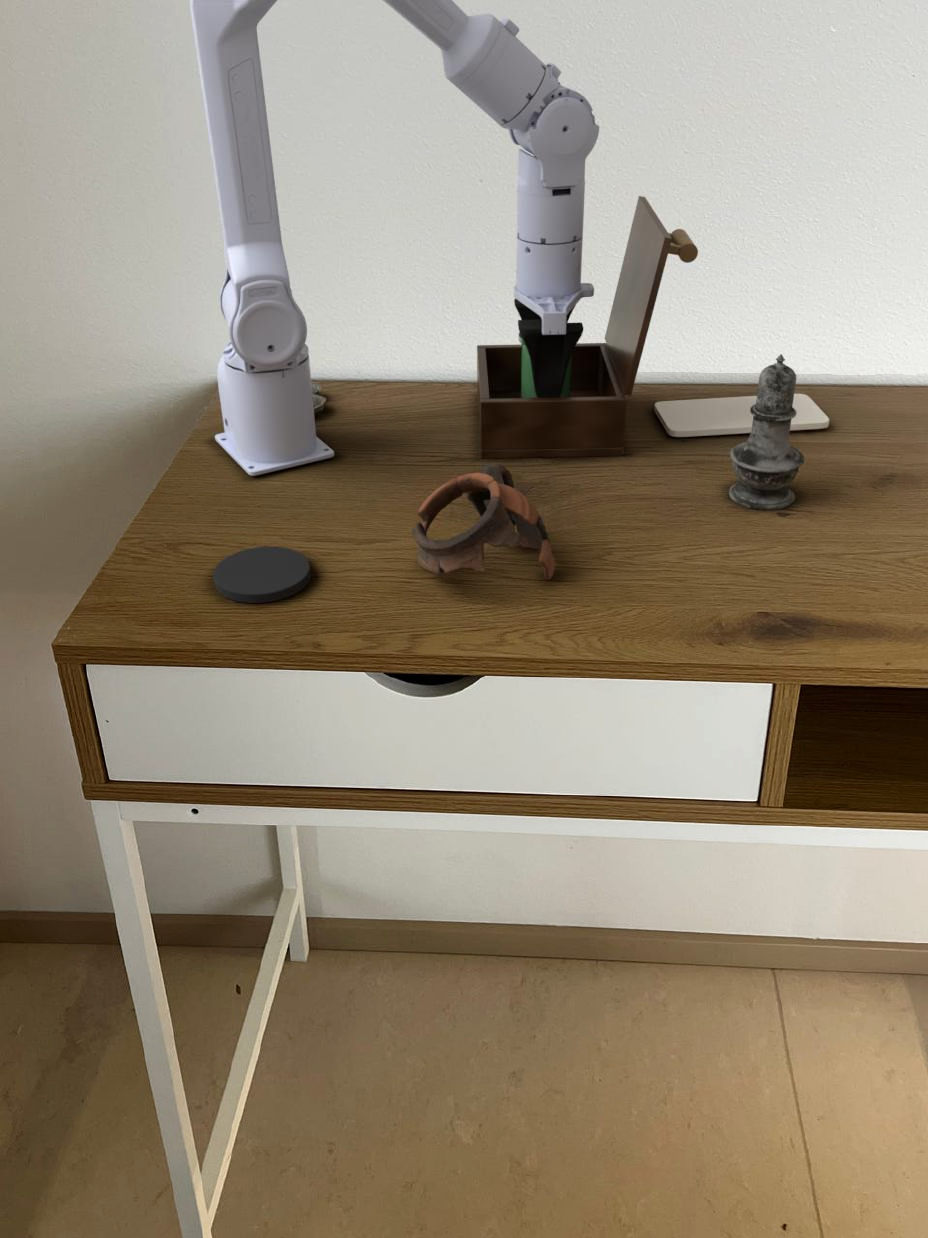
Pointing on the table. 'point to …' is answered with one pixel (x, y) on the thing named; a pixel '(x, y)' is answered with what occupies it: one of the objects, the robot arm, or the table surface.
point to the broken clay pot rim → (482, 523)
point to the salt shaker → (768, 444)
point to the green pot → (527, 376)
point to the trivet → (262, 574)
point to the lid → (641, 288)
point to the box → (550, 407)
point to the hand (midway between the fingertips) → (545, 385)
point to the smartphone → (729, 415)
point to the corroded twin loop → (317, 398)
